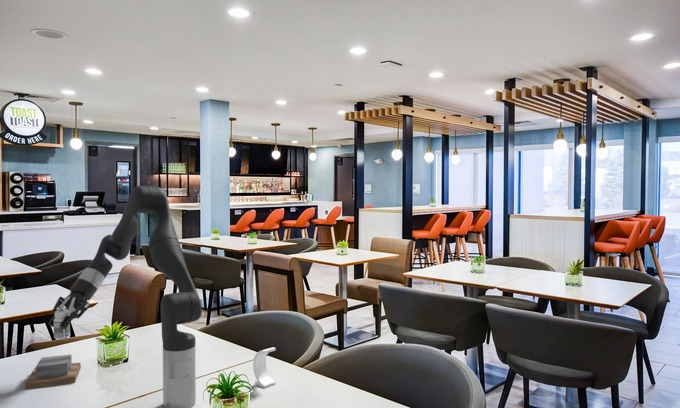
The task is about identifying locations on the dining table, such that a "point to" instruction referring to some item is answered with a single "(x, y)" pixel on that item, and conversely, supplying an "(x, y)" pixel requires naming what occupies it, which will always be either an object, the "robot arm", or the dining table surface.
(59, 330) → the pill bottle
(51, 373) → the pedestal
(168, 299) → the robot arm
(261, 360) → the headphone stand
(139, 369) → the dining table surface
